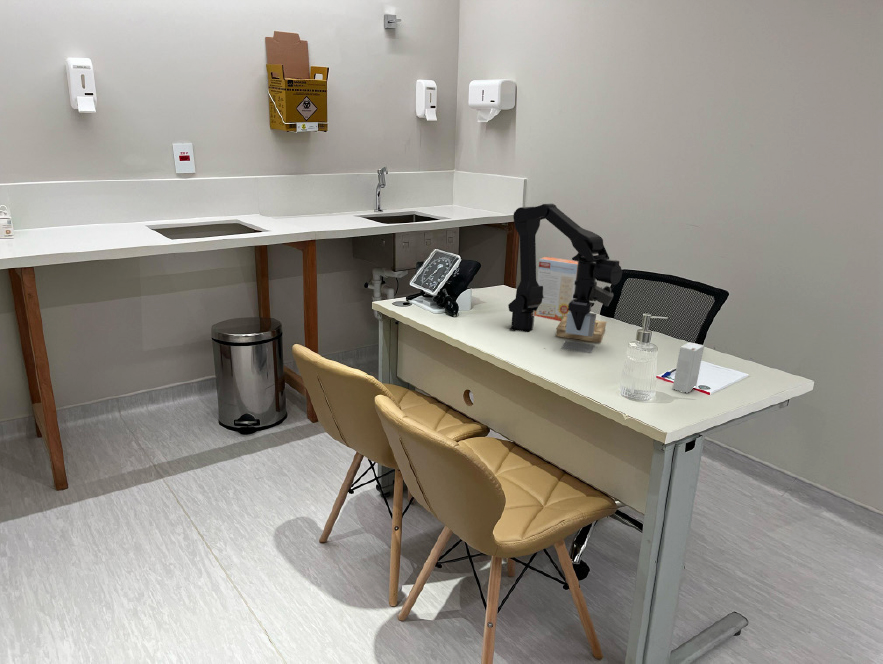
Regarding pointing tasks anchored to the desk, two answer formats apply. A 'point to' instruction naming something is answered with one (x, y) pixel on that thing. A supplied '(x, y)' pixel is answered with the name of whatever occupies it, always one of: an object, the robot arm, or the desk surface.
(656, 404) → the desk surface
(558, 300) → the cracker box
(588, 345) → the rubber mat
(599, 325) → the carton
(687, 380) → the skincare box
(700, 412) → the desk surface
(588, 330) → the box
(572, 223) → the robot arm
